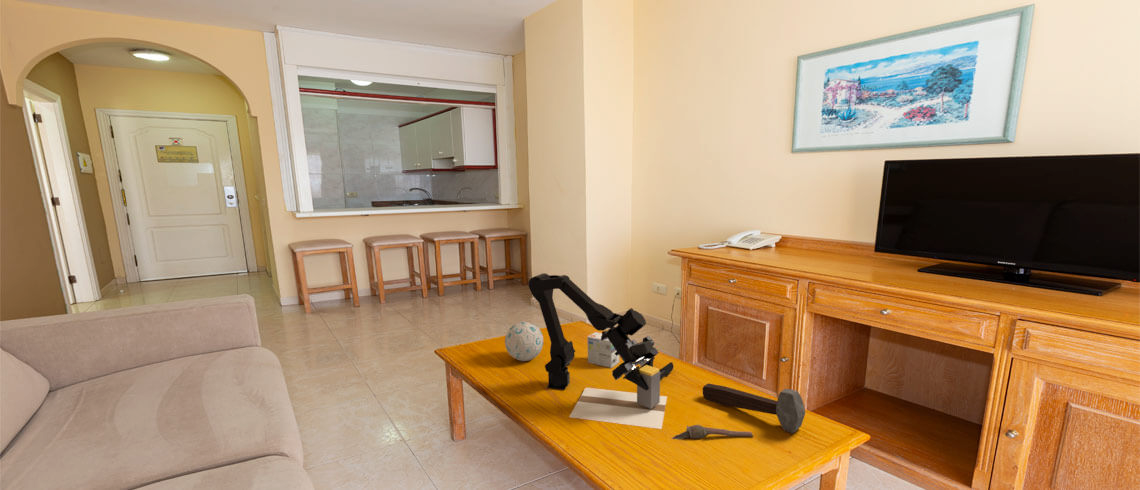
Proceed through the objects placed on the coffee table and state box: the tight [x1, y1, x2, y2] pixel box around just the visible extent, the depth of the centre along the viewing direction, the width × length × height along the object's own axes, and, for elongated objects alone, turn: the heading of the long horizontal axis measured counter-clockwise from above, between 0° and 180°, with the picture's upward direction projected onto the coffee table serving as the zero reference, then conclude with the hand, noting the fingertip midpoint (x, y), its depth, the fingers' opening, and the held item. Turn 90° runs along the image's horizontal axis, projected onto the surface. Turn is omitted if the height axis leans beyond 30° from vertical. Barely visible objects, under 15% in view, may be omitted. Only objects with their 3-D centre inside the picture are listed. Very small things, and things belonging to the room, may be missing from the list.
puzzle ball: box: [504, 321, 544, 362], centre depth 183 cm, size 15×15×15 cm
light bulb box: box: [587, 331, 620, 369], centre depth 178 cm, size 11×7×11 cm, turn 58°
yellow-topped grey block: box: [636, 365, 661, 409], centre depth 142 cm, size 5×5×11 cm
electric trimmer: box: [659, 362, 674, 381], centre depth 166 cm, size 4×16×3 cm, turn 143°
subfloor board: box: [568, 387, 668, 430], centre depth 143 cm, size 27×20×1 cm
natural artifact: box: [671, 424, 754, 441], centre depth 126 cm, size 4×23×4 cm
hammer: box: [702, 383, 806, 434], centre depth 138 cm, size 5×11×30 cm
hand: (652, 386), depth 141 cm, fingers closed on yellow-topped grey block, 5 cm apart
